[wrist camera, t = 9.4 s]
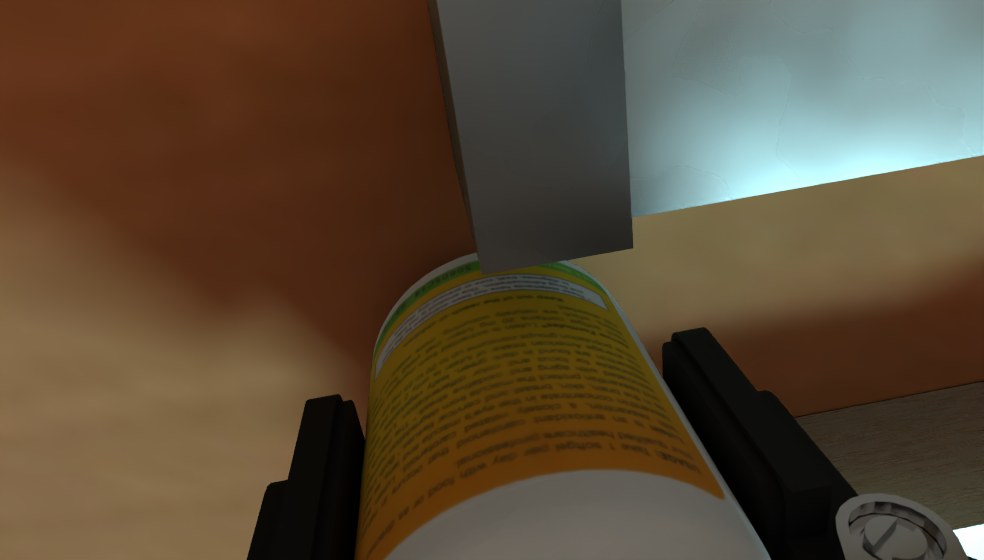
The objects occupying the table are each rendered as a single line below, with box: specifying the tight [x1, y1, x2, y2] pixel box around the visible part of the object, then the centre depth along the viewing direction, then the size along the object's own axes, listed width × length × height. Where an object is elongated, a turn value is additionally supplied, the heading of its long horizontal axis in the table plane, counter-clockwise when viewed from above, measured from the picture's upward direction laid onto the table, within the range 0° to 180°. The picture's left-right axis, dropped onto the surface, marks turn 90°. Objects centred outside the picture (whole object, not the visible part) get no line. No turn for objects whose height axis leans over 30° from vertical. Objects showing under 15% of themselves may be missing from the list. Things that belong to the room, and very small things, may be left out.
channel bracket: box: [427, 0, 984, 560], centre depth 13 cm, size 17×16×5 cm
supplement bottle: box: [354, 253, 771, 560], centre depth 10 cm, size 5×5×10 cm
